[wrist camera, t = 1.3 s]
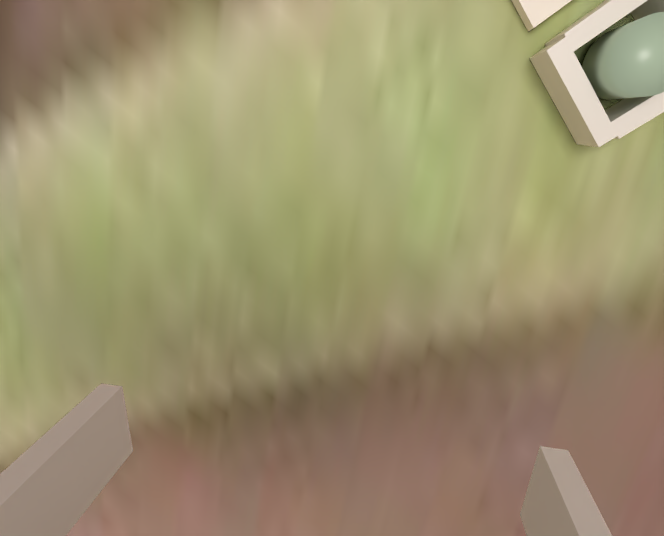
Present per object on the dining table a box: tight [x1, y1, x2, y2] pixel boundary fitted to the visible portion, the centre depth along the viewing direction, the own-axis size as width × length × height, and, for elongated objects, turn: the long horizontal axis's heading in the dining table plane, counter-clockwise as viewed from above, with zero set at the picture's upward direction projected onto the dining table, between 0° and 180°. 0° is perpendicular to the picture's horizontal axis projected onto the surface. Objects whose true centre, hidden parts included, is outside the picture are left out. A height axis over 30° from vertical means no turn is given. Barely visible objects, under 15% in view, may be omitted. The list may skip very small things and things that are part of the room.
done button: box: [582, 12, 664, 100], centre depth 24 cm, size 4×4×4 cm
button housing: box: [529, 0, 664, 147], centre depth 26 cm, size 7×7×4 cm
